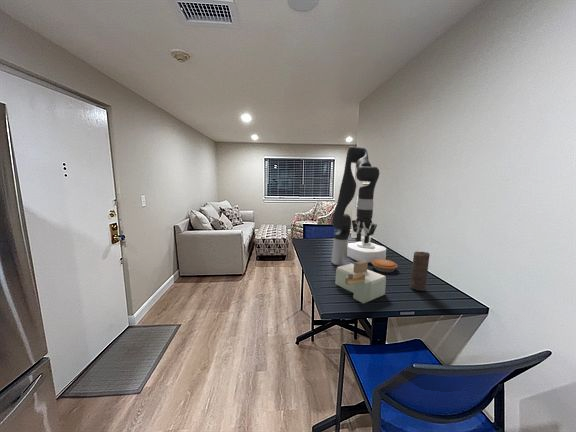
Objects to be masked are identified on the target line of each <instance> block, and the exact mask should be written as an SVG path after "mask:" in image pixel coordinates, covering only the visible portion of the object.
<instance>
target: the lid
mask: <svg viewBox="0 0 576 432" xmlns="http://www.w3.org/2000/svg"><path fill="white" fill-rule="evenodd" d="M368 265H369V262H367V261H364V260H362V261H354V262H353V263H347V264H346V265H343V266H337V267H336V270H338V271H341V272H343V273H345V274H349V273H351V274H353V275H354V274H357V273H363V274H365V279H366V280H369V281H371V284H374V283H377V282H379V281H382V280H385V279H386V275H383V274H381V273H378V272H375V271H372V270H370V269H368Z"/></svg>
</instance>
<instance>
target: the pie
mask: <svg viewBox="0 0 576 432" xmlns="http://www.w3.org/2000/svg"><path fill="white" fill-rule="evenodd" d="M371 265H373V267H374V269H375V270H376V271H378V272H381V273H392V272H394V271H395V270H396V269H397V268H398V264H397V263H396V262H394V261H392V260H390V259H376V260H373V261H372V262H371Z"/></svg>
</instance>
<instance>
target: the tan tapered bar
mask: <svg viewBox="0 0 576 432" xmlns="http://www.w3.org/2000/svg"><path fill="white" fill-rule="evenodd" d="M363 281H365V274H363V273H357V274H354V275H353V274H351V273H349V274H348V276H347V277H346V280H345V284H348V285H350V286H352V285H354V284H357V283H360V282H363Z"/></svg>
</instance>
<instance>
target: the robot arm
mask: <svg viewBox="0 0 576 432" xmlns="http://www.w3.org/2000/svg"><path fill="white" fill-rule="evenodd" d="M352 164H355V167H356V172H355V173H356V174H355V176H356V179H357V180H358V181H359V182H369V183H368V184H367V185H363V186H360V187H359V189H358V197H357V203H356V219H353V220H351V219H352V218H351V216H350V215H349V214H347V213H345V212H346V209H347V208H348V206H349V204H351V202H352V200H353V199H354V198H355V194H356V190H357V183H356V179H355V176H354V174H353V170H352ZM342 176H343V177H342V180H341V184H340V189H339V195H338V197H337V198H338V199H337V202H336V207H335V209H334V213H333V215H332V220H331V221H332V222H331V224H332V226H333V228H334V229H337V230H338V231H336V232H334V234H333V246H332V247H333V248H331V261H330V262H331V263H332V265H335V266H337V267H339V266H343V265H347V264H348V263H347V262H348V256H347V251H348V243H349V236H350V234H351V227H352V229H353V232H354V233H355V234H356V242H362V241H361V236H362V231H364V237H365V239H364V243H368V242H369V236H370V237H371V236H373V235H374V233H375V232H376V229H377V226H378V224H376V223H373V220H372V219H373V215H374V214H373V212H374V195H375V194H374V193H375V189H376V184H377V182H378V179H379V178H380V169H379V168H378V167H377V166H372V164H371V163H370V160H369V154H368V150H367V149H366V148H364V147H361V146H353V145H350V146H349V147H348V149H347V152H346V158H345V165H344V171H343V175H342ZM351 225H352V226H351Z"/></svg>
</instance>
